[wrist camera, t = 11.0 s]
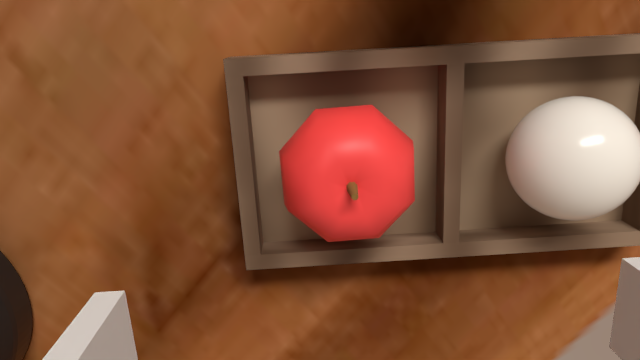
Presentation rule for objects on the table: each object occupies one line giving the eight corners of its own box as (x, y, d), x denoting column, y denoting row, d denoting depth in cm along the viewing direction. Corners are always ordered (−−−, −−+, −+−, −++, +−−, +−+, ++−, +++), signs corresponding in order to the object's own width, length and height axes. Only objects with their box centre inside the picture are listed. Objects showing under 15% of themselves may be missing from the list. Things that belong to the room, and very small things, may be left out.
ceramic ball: (485, 200, 32) (533, 244, 25) (490, 92, 30) (543, 110, 23) (591, 193, 32) (666, 236, 25) (603, 86, 30) (689, 101, 23)
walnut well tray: (250, 253, 33) (246, 270, 31) (229, 56, 29) (223, 58, 27) (628, 229, 33) (653, 244, 31) (656, 32, 30) (686, 32, 27)
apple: (314, 234, 32) (317, 297, 25) (256, 129, 30) (240, 161, 22) (424, 182, 31) (463, 230, 24) (373, 69, 29) (397, 82, 22)
